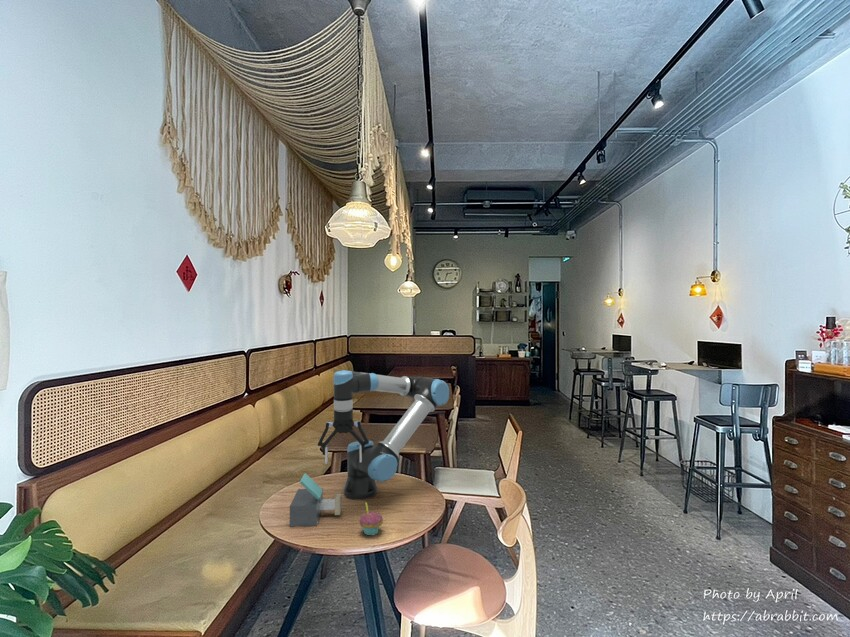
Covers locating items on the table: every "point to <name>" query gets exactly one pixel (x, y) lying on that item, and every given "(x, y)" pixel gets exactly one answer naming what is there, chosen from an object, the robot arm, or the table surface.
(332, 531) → the table surface
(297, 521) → the grey block
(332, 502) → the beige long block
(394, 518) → the table surface
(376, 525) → the cupcake
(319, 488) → the teal rectangular plate
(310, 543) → the table surface
